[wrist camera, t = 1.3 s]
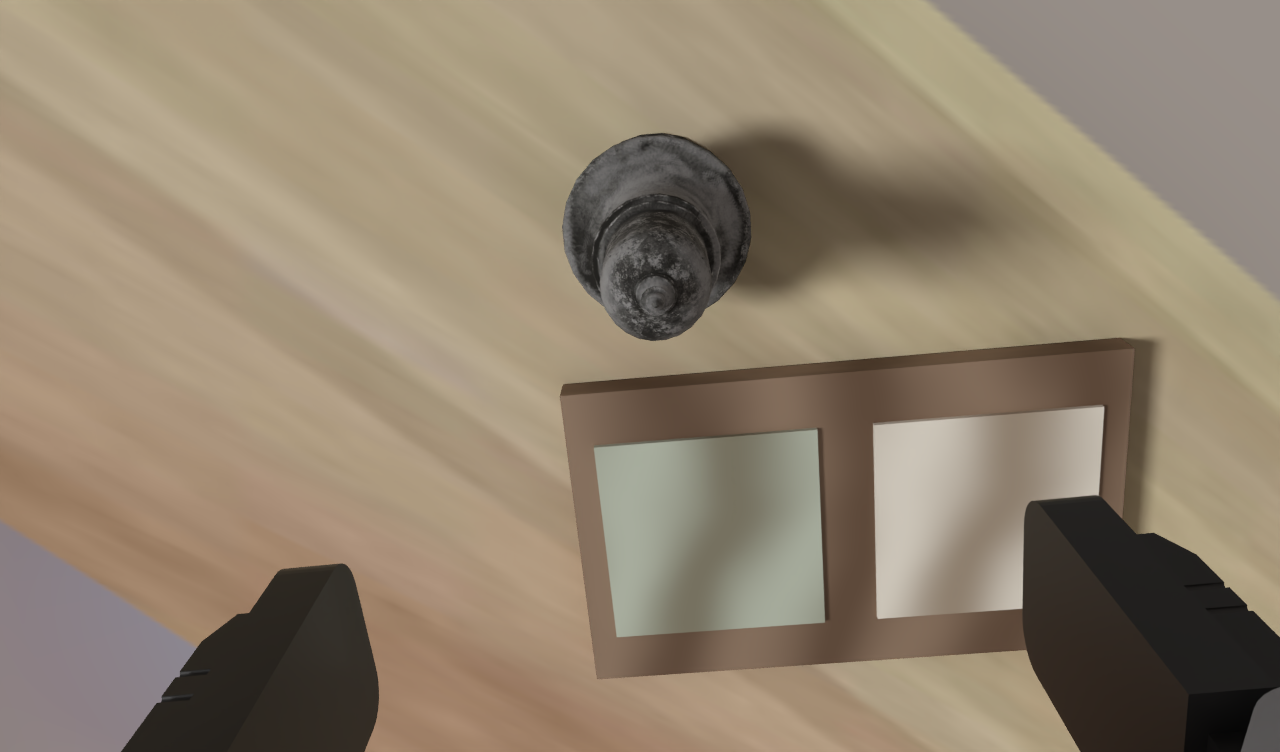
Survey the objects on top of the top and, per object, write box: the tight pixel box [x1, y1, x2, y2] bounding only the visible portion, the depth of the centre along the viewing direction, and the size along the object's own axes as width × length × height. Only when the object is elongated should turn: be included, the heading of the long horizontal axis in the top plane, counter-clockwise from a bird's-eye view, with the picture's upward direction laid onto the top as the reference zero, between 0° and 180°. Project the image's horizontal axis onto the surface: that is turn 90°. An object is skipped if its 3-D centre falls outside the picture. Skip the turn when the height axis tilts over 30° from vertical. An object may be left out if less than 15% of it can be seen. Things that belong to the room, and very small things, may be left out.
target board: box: [560, 338, 1135, 679], centre depth 37 cm, size 20×12×1 cm, turn 96°
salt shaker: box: [562, 133, 751, 341], centre depth 29 cm, size 6×6×12 cm
